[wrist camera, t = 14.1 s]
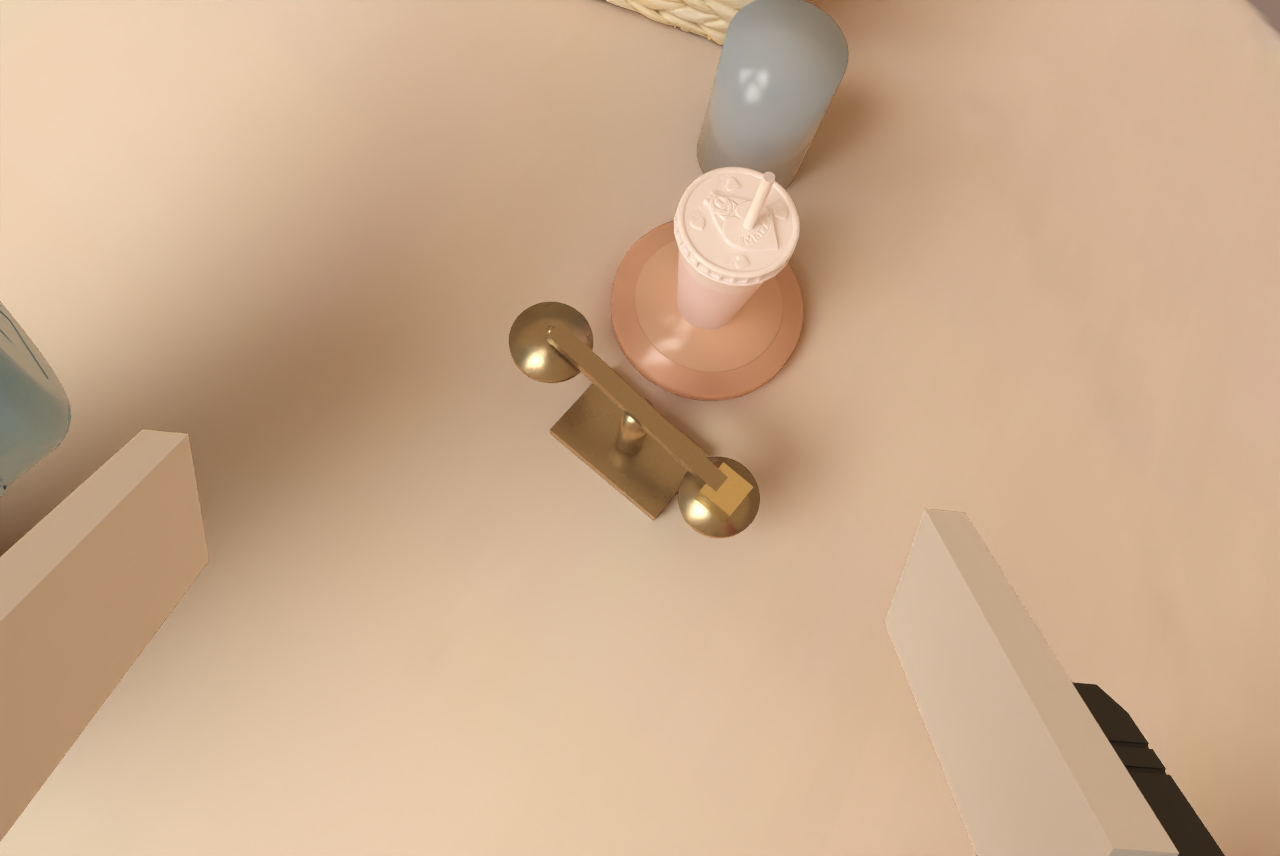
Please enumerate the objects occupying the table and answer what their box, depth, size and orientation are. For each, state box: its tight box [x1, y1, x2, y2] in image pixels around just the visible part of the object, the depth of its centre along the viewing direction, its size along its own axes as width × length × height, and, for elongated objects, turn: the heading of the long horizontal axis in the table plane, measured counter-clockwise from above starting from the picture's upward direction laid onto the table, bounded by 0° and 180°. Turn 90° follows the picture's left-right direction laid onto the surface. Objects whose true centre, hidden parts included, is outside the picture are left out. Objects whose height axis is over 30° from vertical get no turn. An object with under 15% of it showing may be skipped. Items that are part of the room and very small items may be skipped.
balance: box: [509, 302, 760, 538], centre depth 44 cm, size 16×5×9 cm, turn 50°
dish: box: [611, 221, 804, 401], centre depth 50 cm, size 12×12×1 cm
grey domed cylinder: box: [697, 0, 848, 189], centre depth 50 cm, size 7×7×10 cm
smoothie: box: [674, 167, 800, 330], centre depth 43 cm, size 6×6×14 cm
